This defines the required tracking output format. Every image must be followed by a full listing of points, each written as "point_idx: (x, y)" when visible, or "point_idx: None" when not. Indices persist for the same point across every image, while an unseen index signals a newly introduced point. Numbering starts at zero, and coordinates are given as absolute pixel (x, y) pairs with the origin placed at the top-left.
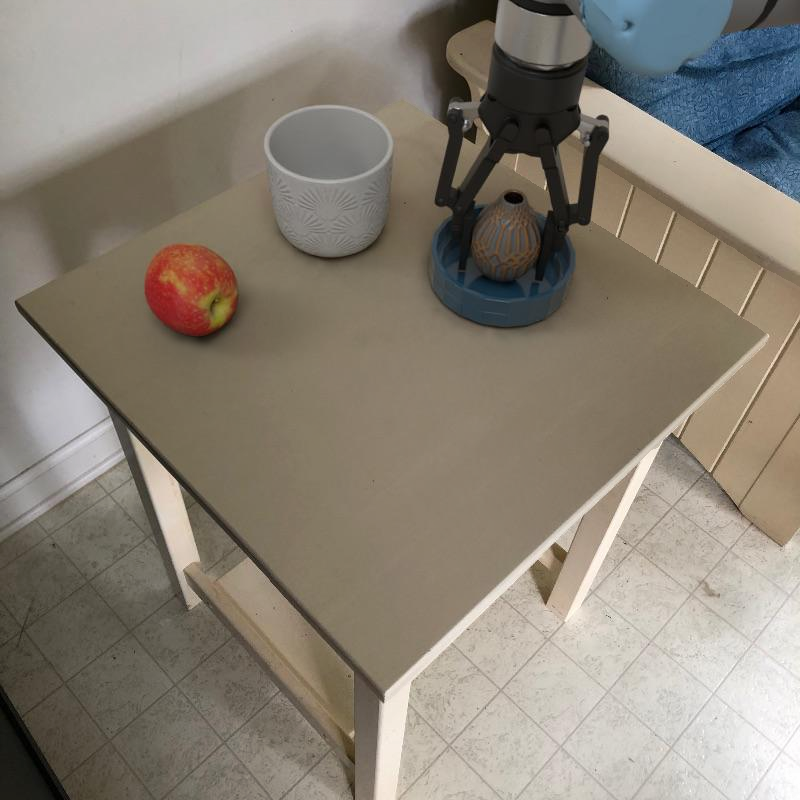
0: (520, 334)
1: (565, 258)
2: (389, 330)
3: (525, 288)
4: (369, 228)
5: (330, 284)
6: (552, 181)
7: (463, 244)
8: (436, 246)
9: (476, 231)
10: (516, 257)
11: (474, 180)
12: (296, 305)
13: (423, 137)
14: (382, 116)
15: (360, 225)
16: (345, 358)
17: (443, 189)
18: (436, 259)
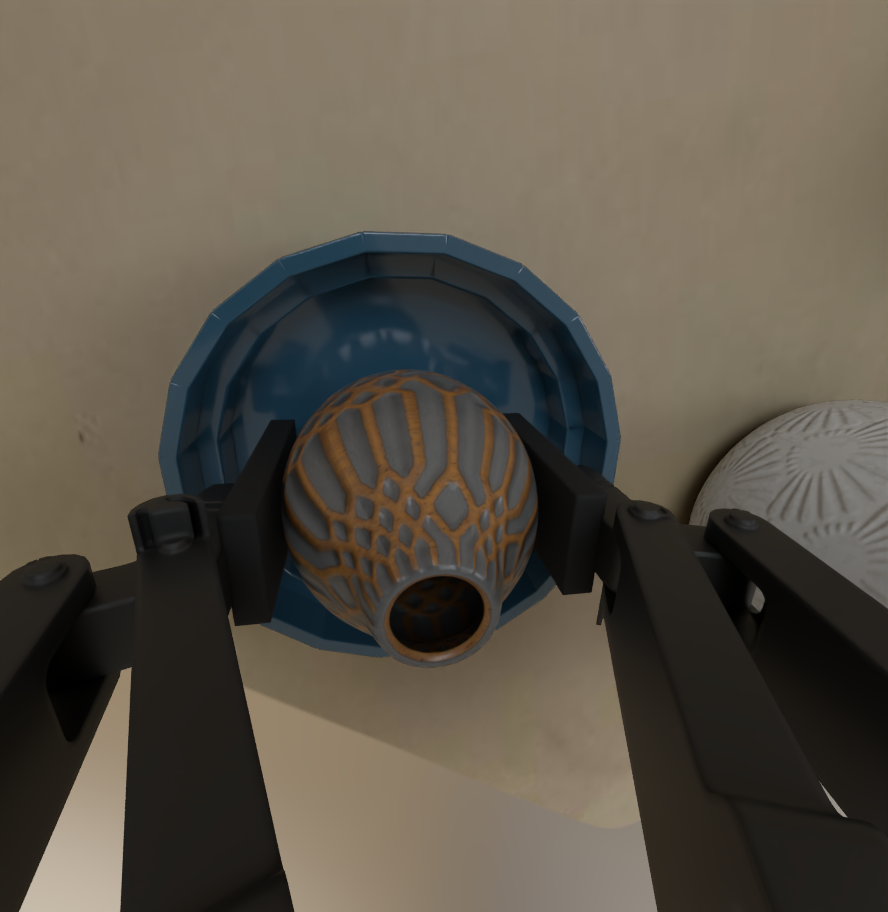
0: (309, 237)
1: None
2: (668, 189)
3: None
4: (782, 470)
5: (794, 333)
6: (204, 759)
7: (546, 445)
8: (605, 447)
9: (532, 473)
10: (366, 394)
11: (712, 630)
12: (877, 243)
13: (584, 783)
14: None
15: (831, 458)
16: (786, 49)
17: (793, 560)
18: (606, 393)
